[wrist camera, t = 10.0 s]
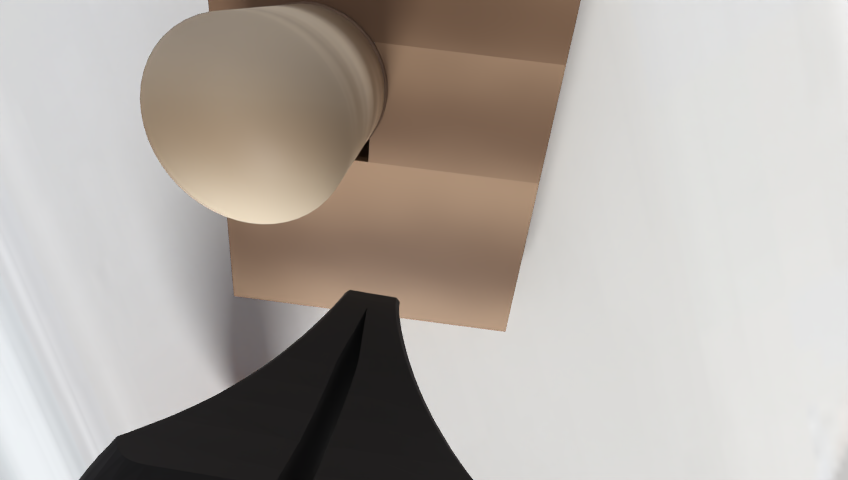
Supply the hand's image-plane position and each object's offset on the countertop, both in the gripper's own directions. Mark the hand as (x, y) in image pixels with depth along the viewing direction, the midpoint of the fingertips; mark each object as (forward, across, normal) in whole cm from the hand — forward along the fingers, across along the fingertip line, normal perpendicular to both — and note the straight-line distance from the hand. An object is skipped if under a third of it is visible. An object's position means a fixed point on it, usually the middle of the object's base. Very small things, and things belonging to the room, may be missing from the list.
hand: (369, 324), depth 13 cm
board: (+10, +1, -2) cm, 10 cm away
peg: (+10, +4, -4) cm, 11 cm away
